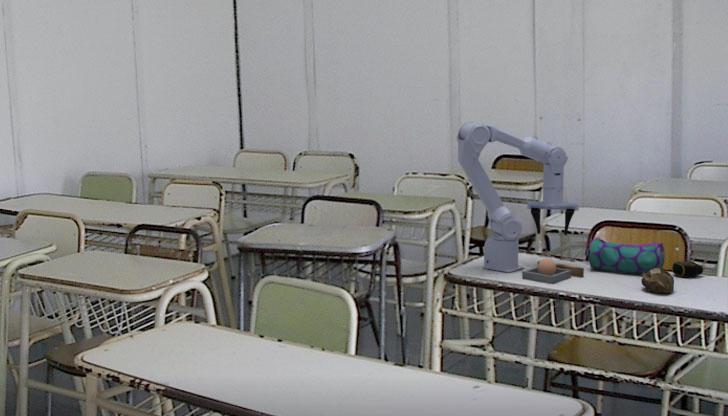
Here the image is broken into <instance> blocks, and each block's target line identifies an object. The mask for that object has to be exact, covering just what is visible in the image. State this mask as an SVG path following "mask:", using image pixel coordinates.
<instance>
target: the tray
mask: <svg viewBox="0 0 728 416" xmlns="http://www.w3.org/2000/svg"><path fill="white" fill-rule="evenodd" d="M521 274H522V276H521V277H522V279H523V280H530V281H535V282H539V283H545V284H549V285H550V284H551V285H553V284H557V283H559V282H562V281H565V280H568V279H571V278H572V276H571V270H566V269H560V268H556V271H555V273H554V274H553V275H552V276H550V275H544V274H540V273H539V271H538V266H536V267H535V266H534V267H532V268H529V269H526V270H522V271H521Z"/></svg>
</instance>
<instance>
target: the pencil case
mask: <svg viewBox="0 0 728 416" xmlns="http://www.w3.org/2000/svg"><path fill="white" fill-rule="evenodd" d="M664 244H665V241H664V242H661V243H659V242H652V243H646V244H626V243H625V244H624V243H616V242H611V241H608V240H607V239H604V238H601V237H600V236H596V237H595V238H593V239H592V240H591V242H590V244H589V248H586V249H585V251H584V256H586V257H588V261H589V266H590V269H591V270H599V271H602V272H603V271H604V272H612V273H613V272H614V273H617V274H618V273H619V274H631V275H643V273H644V272H645V273H647V272H649V271H650V270H652V269H655V268H659V269H664V264H665V247H664Z"/></svg>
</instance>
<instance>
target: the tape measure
mask: <svg viewBox="0 0 728 416" xmlns="http://www.w3.org/2000/svg"><path fill="white" fill-rule="evenodd" d="M703 272H704V267H703V266H702V265H700V264H698V263H695V262H691V261H687V260H682V261H680V260H679V261H678V260H677V261H674V262H673V264H672V273H673V275H676V276H679V277H682V278H689V277H690V278H691V277H692V278H693V277H696V276H699V275H703Z"/></svg>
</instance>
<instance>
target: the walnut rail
mask: <svg viewBox="0 0 728 416" xmlns="http://www.w3.org/2000/svg"><path fill="white" fill-rule="evenodd" d="M540 261H541V260H538V261H537V265H538V264H539V262H540ZM554 263H555V262H554ZM555 264H556V268H560V269H566V270H571V277H575V278H576V277H577V278H584V274H585V272H584V271H585V270H584V269H585V268H584V267H581V266H579V267H578V266H574V265H568V264H561V263H557V262H556V263H555Z"/></svg>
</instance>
